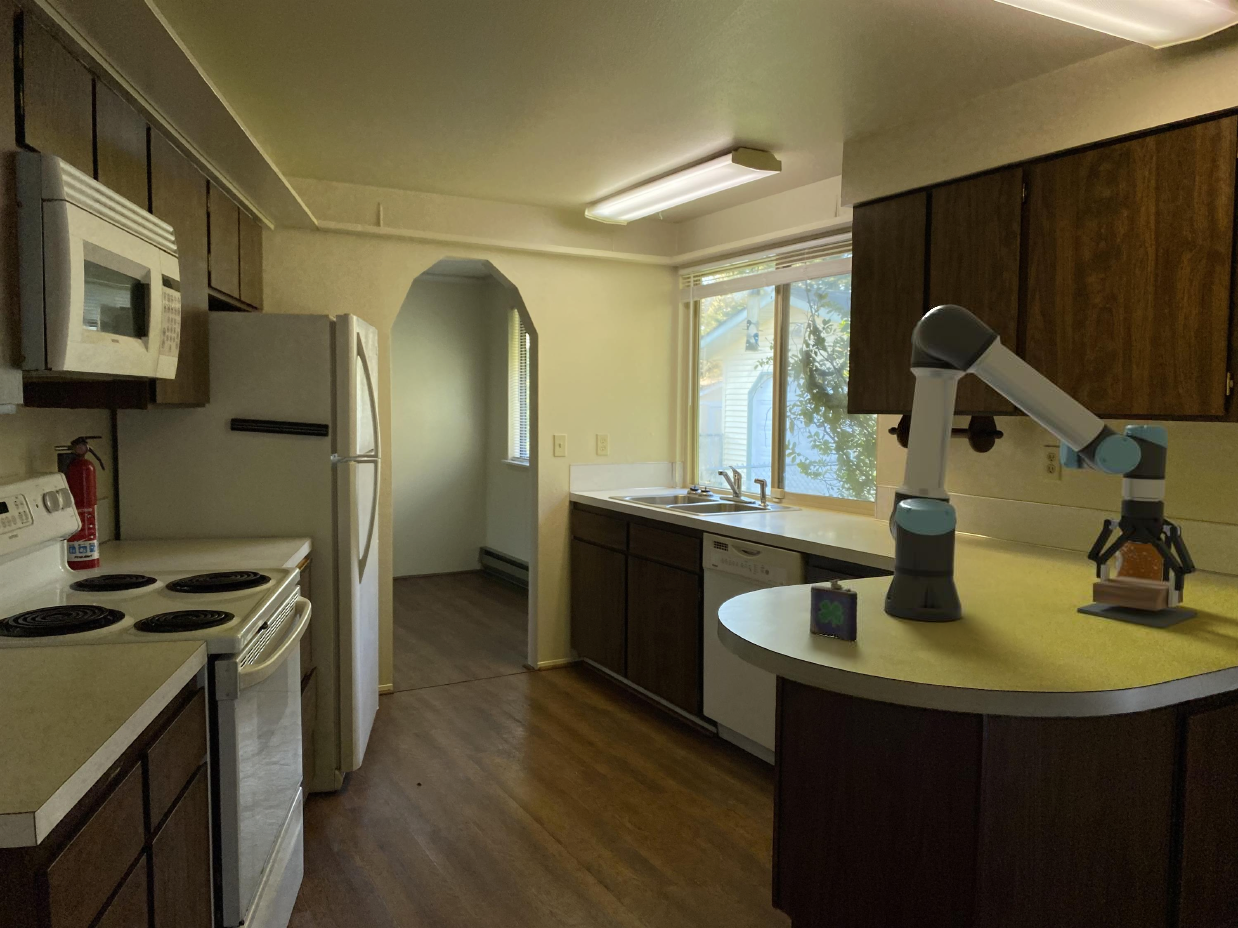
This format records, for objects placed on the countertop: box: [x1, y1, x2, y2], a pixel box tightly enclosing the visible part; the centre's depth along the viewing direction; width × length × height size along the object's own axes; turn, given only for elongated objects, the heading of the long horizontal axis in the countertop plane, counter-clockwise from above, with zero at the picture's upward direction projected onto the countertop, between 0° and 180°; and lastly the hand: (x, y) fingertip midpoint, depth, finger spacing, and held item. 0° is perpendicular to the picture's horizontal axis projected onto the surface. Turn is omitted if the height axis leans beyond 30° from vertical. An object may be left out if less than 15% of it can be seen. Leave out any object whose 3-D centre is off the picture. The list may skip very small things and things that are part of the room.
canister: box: [1114, 517, 1176, 581], centre depth 183 cm, size 9×11×20 cm
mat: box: [1076, 602, 1198, 629], centre depth 170 cm, size 18×16×1 cm
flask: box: [809, 578, 858, 642], centre depth 150 cm, size 9×3×11 cm, turn 48°
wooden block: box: [1092, 576, 1184, 611], centre depth 170 cm, size 14×12×4 cm
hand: (1137, 599), depth 170 cm, fingers open, 12 cm apart
